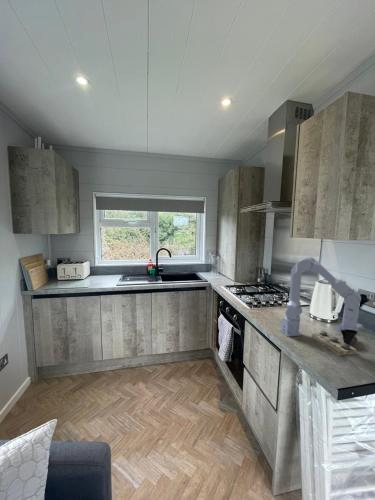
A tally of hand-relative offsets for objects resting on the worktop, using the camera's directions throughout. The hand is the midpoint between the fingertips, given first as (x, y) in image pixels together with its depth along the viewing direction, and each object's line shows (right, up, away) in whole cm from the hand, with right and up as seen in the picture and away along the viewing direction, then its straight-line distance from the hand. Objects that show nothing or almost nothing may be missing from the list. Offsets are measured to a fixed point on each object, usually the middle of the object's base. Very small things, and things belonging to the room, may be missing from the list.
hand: (346, 343), depth 107 cm
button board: (-3, -4, +7) cm, 8 cm away
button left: (-3, -1, +13) cm, 13 cm away
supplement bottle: (+10, 0, +14) cm, 17 cm away
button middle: (-2, -2, +7) cm, 7 cm away
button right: (0, -3, 0) cm, 3 cm away
